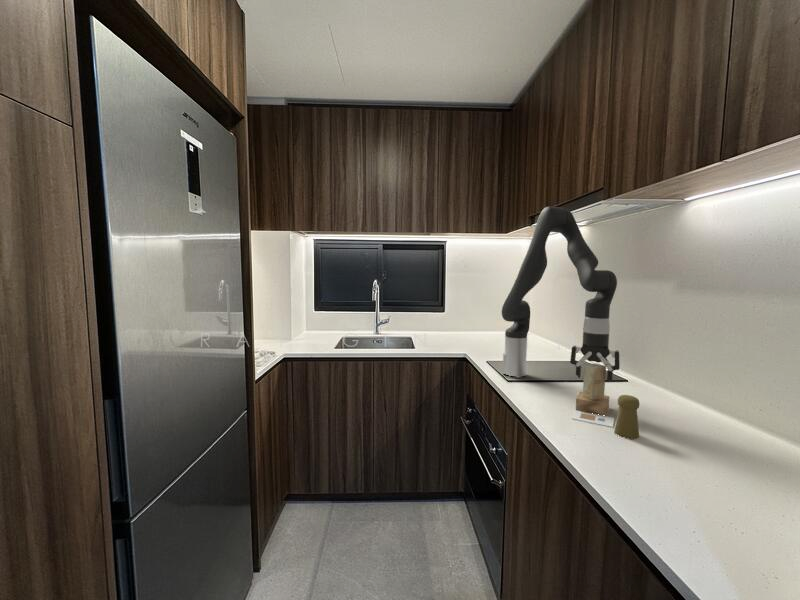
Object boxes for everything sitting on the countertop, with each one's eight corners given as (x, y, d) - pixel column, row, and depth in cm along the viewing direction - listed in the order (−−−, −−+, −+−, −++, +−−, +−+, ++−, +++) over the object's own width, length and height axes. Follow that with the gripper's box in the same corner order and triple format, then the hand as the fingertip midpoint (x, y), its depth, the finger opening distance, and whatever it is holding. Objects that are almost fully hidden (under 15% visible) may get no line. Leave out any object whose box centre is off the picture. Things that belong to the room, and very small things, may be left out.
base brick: (575, 410, 119) (576, 398, 118) (579, 402, 126) (579, 391, 126) (607, 416, 114) (607, 404, 113) (608, 407, 121) (609, 396, 121)
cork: (616, 427, 105) (618, 391, 104) (640, 433, 102) (642, 395, 101) (612, 434, 101) (614, 396, 100) (638, 441, 97) (640, 401, 96)
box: (591, 400, 117) (593, 366, 116) (581, 395, 121) (583, 363, 120) (604, 398, 118) (606, 365, 117) (594, 394, 122) (596, 362, 122)
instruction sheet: (571, 418, 112) (571, 418, 112) (575, 410, 118) (575, 409, 118) (612, 427, 106) (612, 426, 105) (614, 418, 112) (614, 417, 112)
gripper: (621, 331, 117) (618, 380, 118) (573, 327, 125) (571, 373, 126) (621, 335, 111) (617, 386, 112) (570, 330, 119) (568, 378, 120)
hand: (593, 379), depth 119 cm, fingers open, 8 cm apart
